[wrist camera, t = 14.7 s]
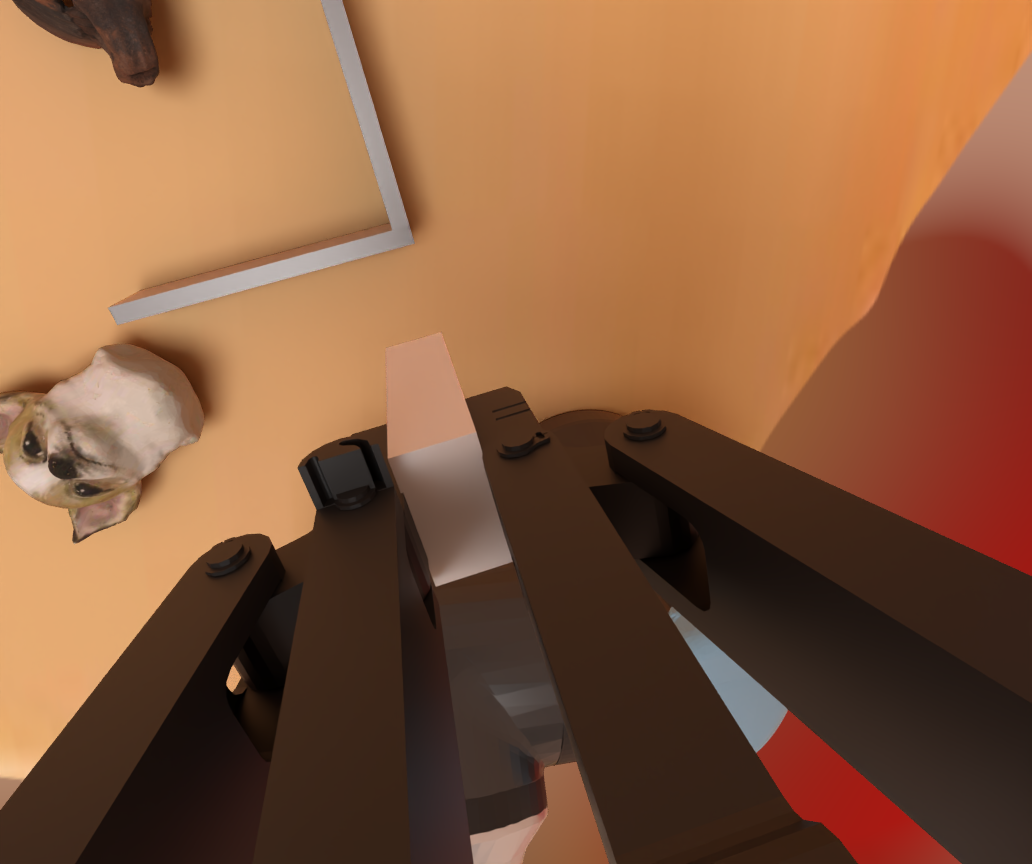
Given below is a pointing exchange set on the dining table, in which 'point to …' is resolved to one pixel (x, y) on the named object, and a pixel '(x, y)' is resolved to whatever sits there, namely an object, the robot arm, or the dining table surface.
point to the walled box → (309, 255)
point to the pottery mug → (104, 31)
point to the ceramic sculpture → (98, 434)
